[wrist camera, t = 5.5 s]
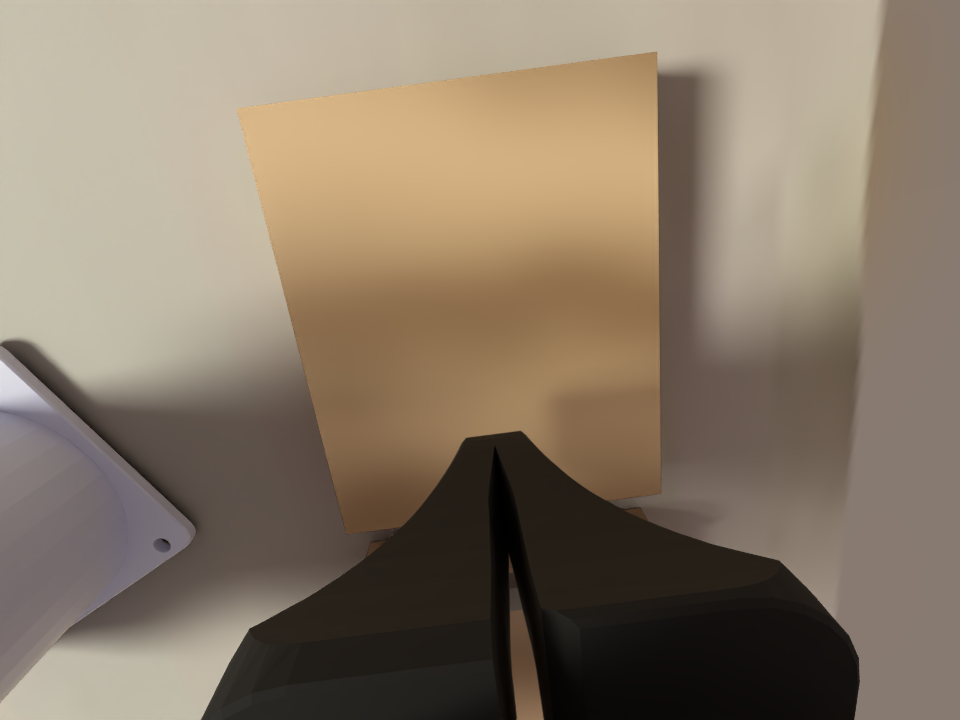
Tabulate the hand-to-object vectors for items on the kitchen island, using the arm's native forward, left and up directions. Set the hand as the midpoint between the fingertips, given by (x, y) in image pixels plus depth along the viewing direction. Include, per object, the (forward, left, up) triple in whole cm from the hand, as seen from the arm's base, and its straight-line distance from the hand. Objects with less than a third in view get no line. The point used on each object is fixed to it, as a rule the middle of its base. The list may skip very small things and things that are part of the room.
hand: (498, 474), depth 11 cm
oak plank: (+1, +2, -4) cm, 5 cm away
